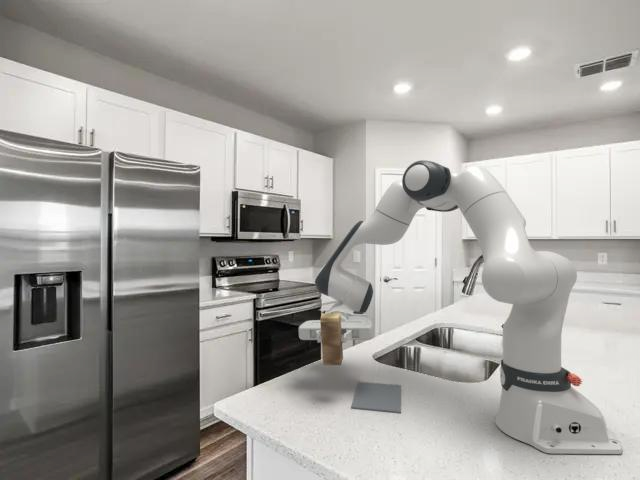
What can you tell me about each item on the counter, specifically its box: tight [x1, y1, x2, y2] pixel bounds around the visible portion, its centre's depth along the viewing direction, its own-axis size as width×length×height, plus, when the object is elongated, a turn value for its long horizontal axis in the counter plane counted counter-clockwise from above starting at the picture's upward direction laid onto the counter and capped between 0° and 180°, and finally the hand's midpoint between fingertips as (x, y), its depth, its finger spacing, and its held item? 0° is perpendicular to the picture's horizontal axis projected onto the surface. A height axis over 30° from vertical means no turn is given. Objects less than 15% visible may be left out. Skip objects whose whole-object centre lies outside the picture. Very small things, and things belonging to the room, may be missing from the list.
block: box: [319, 312, 344, 366], centre depth 92 cm, size 4×4×12 cm
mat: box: [350, 381, 402, 414], centre depth 95 cm, size 12×16×1 cm
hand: (331, 339), depth 91 cm, fingers closed on block, 4 cm apart
